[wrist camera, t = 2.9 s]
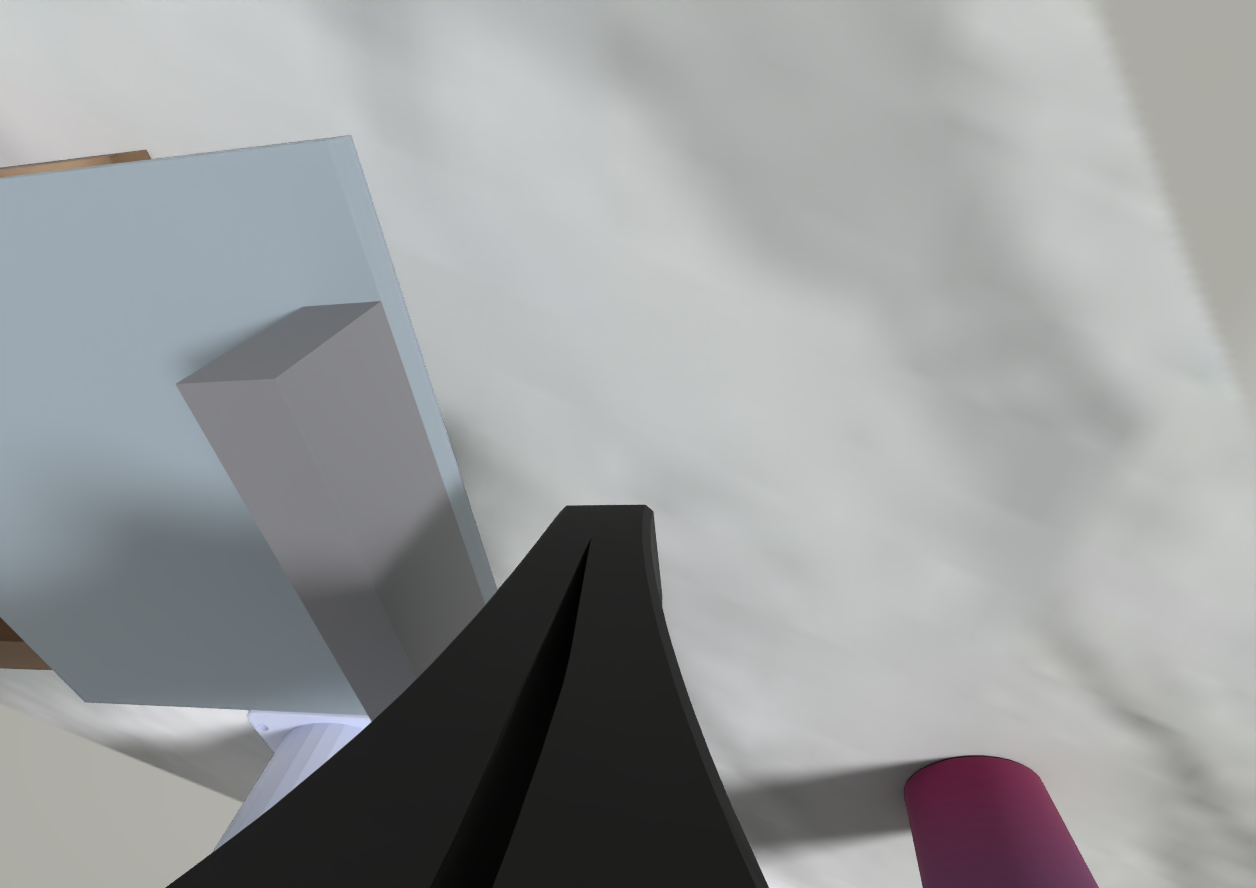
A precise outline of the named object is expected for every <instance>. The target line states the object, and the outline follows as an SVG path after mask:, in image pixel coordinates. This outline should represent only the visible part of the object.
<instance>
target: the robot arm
mask: <svg viewBox="0 0 1256 888" xmlns="http://www.w3.org/2000/svg"><path fill="white" fill-rule="evenodd" d="M247 718H248V720H249V722H250V723H251V724H252V725H253V727H254V728H255V729H256V731H257V732H258V733H259V735H260V736H261V737H262V738H263V740H264V741H265V742H266V744H267V745H268V746H269V747H270V749H271V750H272V751H273V753H274V755H273V757H272V758H271V760H270V761H269V763H268V765H267V766H266V768H265V769H264V771H263V773H262V774H261V776H260V777H259V779H258V781H257V782H256V784H255V785H254V787H253V789H252V790H251V792H250V793H249V795H248V796H247V798H246V800H245V801H244V803H243V804H242V806H241V808H240V809H239V811H238V812H237V814H236V816H235V817H234V819H233V820H232V822H231V824H230V825H229V827H228V829H227V830H226V832H225V833H224V835H223V836H222V838H221V840H220V841H219V843H218V844H217V846H216V848H215V849H214V851H213V852H212V853H211V854H210V855H209V856H207V857H206V858H205V859H204V860H202V861H201V862H199V863H198V864H197V865H196V866H194V867H193V868H192V869H190V870H189V871H187V872H186V873H185V874H183V875H182V876H181V877H179V878H178V879H177V880H175V881H174V882H173V883H171V884H170V885H169V886H167V887H166V888H769V887H768V885H767V882H766V880H765V878H764V876H763V874H762V871H761V869H760V867H759V865H758V863H757V860H756V858H755V856H754V854H753V852H752V849H751V847H750V845H749V843H748V841H747V838H746V836H745V834H744V832H743V830H742V827H741V825H740V823H739V821H738V819H737V817H736V814H735V812H734V810H733V808H732V805H731V803H730V801H729V798H728V796H727V794H726V791H725V789H724V786H723V784H722V781H721V779H720V777H719V774H718V772H717V769H716V767H715V764H714V762H713V759H712V757H711V755H710V752H709V750H708V747H707V744H706V742H705V739H704V736H703V734H702V731H701V729H700V726H699V723H698V721H697V718H696V715H695V713H694V710H693V707H692V704H691V701H690V699H689V696H688V693H687V690H686V687H685V684H684V681H683V678H682V675H681V672H680V669H679V665H678V662H677V659H676V656H675V653H674V649H673V646H672V643H671V639H670V636H669V632H668V629H667V625H666V621H665V617H664V613H663V609H662V589H661V580H660V570H659V561H658V552H657V542H656V533H655V524H654V514H653V511H652V510H651V509H650V508H649V507H647V506H646V505H583V506H566V507H565V508H564V509H563V510H562V511H561V512H560V513H559V514H558V515H557V517H556V518H555V519H554V521H553V522H552V523H551V524H550V526H549V527H548V528H547V530H546V531H545V532H544V533H543V535H542V536H541V537H540V539H539V540H538V541H537V542H536V544H535V545H534V546H533V548H532V549H531V550H530V551H529V553H528V554H527V555H526V556H525V558H524V559H523V560H522V561H521V563H520V564H519V565H518V566H517V568H516V569H515V570H514V571H513V573H512V574H511V575H510V576H509V577H508V578H507V580H506V581H505V582H504V583H503V584H502V586H501V587H500V588H499V589H498V590H497V592H496V593H495V594H494V595H493V596H492V597H491V599H490V600H489V601H488V602H487V603H486V605H485V606H484V607H483V608H482V609H481V610H480V612H479V613H478V614H477V615H476V616H475V617H474V618H473V619H472V621H471V622H470V623H469V624H468V625H467V626H466V627H465V628H464V629H463V630H462V631H461V632H460V633H459V635H458V636H457V637H456V638H455V639H454V640H453V641H452V642H451V643H450V644H449V645H448V646H447V647H446V649H445V650H444V651H443V652H442V653H441V654H440V655H439V656H438V657H437V658H436V659H435V660H434V662H433V663H432V664H431V665H430V666H429V667H428V668H427V669H426V670H425V671H424V672H423V673H422V674H421V675H420V676H419V677H418V678H417V679H416V680H415V681H414V682H413V683H412V684H411V685H410V686H409V687H408V688H407V689H406V690H405V691H404V692H403V693H402V694H400V695H399V696H398V697H397V698H396V699H395V700H394V701H393V702H392V703H391V704H390V705H389V706H388V707H387V708H386V709H385V710H384V711H382V712H381V713H380V714H379V715H378V716H377V717H376V718H375V719H374V720H373V721H372V722H371V720H370V718H369V716H368V715H347V714H325V713H304V712H282V711H261V710H250V711H249V712H248V714H247Z"/></svg>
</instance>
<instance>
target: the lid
mask: <svg viewBox="0 0 1256 888" xmlns="http://www.w3.org/2000/svg"><path fill="white" fill-rule="evenodd" d="M496 592H497V587H496V584H495V581H494V578H493V575H492V572H491V569H490V566H489V562H488V559H487V556H486V553H485V550H484V547H483V544H482V541H481V538H480V534H479V531H478V528H477V525H476V522H475V519H474V516H473V513H472V509H471V506H470V503H469V500H468V497H467V494H466V491H465V488H464V485H463V481H462V478H461V475H460V472H459V469H458V466H457V463H456V460H455V457H454V453H453V450H452V447H451V444H450V441H449V438H448V435H447V432H446V428H445V425H444V422H443V419H442V416H441V413H440V410H439V407H438V404H437V400H436V397H435V394H434V391H433V388H432V385H431V382H430V379H429V376H428V372H427V369H426V366H425V363H424V360H423V357H422V354H421V351H420V347H419V344H418V341H417V338H416V335H415V332H414V329H413V326H412V323H411V319H410V316H409V313H408V310H407V307H406V304H405V301H404V298H403V295H402V291H401V288H400V285H399V282H398V279H397V276H396V273H395V270H394V266H393V263H392V260H391V257H390V254H389V251H388V248H387V245H386V242H385V238H384V235H383V232H382V229H381V226H380V223H379V220H378V217H377V214H376V210H375V207H374V204H373V201H372V198H371V195H370V192H369V189H368V185H367V182H366V179H365V176H364V173H363V170H362V167H361V164H360V161H359V157H358V154H357V151H356V148H355V145H354V142H353V139H352V136H351V135H348V136H340V137H332V138H323V139H315V140H307V141H298V142H290V143H282V144H274V145H265V146H257V147H249V148H241V149H232V150H224V151H216V152H207V153H199V154H191V155H183V156H174V157H166V158H158V159H149V160H141V161H133V162H125V163H116V164H108V165H100V166H91V167H83V168H75V169H67V170H58V171H50V172H42V173H33V174H25V175H17V176H9V177H0V617H1V618H2V619H3V620H4V621H5V622H6V623H7V624H8V625H9V626H10V627H11V628H12V629H13V630H14V631H15V632H16V633H17V634H18V635H19V636H20V637H21V638H22V639H23V640H24V641H25V642H26V643H27V644H28V645H29V646H30V647H31V648H32V649H33V650H34V651H35V652H36V653H37V654H38V655H39V656H40V657H41V658H42V659H43V660H44V662H45V663H46V664H47V665H48V666H49V667H50V668H51V669H52V670H53V671H54V672H55V673H56V674H57V675H58V676H59V677H60V678H61V679H62V680H63V681H64V682H65V683H66V684H67V685H68V686H69V687H70V688H71V689H72V690H73V691H74V692H75V693H76V694H77V695H78V696H79V697H80V698H81V699H82V700H83V701H84V702H90V703H112V704H133V705H154V706H176V707H197V708H218V709H240V710H261V711H282V712H304V713H325V714H347V715H368V716H369V718H370V720H371V722H372V721H373V720H374V719H375V718H376V717H377V716H378V715H379V714H380V713H381V712H382V711H384V710H385V709H386V708H387V707H388V706H389V705H390V704H391V703H392V702H393V701H394V700H395V699H396V698H397V697H398V696H399V695H400V694H402V693H403V692H404V691H405V690H406V689H407V688H408V687H409V686H410V685H411V684H412V683H413V682H414V681H415V680H416V679H417V678H418V677H419V676H420V675H421V674H422V673H423V672H424V671H425V670H426V669H427V668H428V667H429V666H430V665H431V664H432V663H433V662H434V660H435V659H436V658H437V657H438V656H439V655H440V654H441V653H442V652H443V651H444V650H445V649H446V647H447V646H448V645H449V644H450V643H451V642H452V641H453V640H454V639H455V638H456V637H457V636H458V635H459V633H460V632H461V631H462V630H463V629H464V628H465V627H466V626H467V625H468V624H469V623H470V622H471V621H472V619H473V618H474V617H475V616H476V615H477V614H478V613H479V612H480V610H481V609H482V608H483V607H484V606H485V605H486V603H487V602H488V601H489V600H490V599H491V597H492V596H493V595H494V594H495V593H496Z"/></svg>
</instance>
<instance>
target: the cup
mask: <svg viewBox="0 0 1256 888" xmlns="http://www.w3.org/2000/svg"><path fill="white" fill-rule="evenodd" d="M904 798H905V802H906V807H907V812H908V817H909V822H910V827H911V832H912V837H913V842H914V847H915V851H916V856H917V861H918V866H919V871H920V876H921V881H922V886H923V888H1099V887H1098V885H1097V883H1096V882H1095V880H1094V878H1093V876H1092V874H1091V872H1090V870H1089V868H1088V867H1087V865H1086V863H1085V861H1084V859H1083V857H1082V855H1081V854H1080V852H1079V850H1078V848H1077V846H1076V844H1075V842H1074V840H1073V839H1072V837H1071V835H1070V833H1069V831H1068V829H1067V827H1066V825H1065V824H1064V822H1063V820H1062V818H1061V816H1060V814H1059V812H1058V810H1057V809H1056V807H1055V805H1054V803H1053V801H1052V799H1051V797H1050V795H1049V794H1048V792H1047V790H1046V788H1045V786H1044V784H1043V782H1042V781H1041V779H1040V777H1039V776H1038V775H1037V774H1036V773H1035V772H1034V771H1032V770H1031V769H1029V768H1028V767H1026V766H1024V765H1022V764H1019V763H1016V762H1014V761H1011V760H1006V759H1001V758H994V757H962V758H954V759H949V760H945V761H941V762H938V763H935V764H932V765H930V766H928V767H926V768H924V769H921V770H920V771H919V772H917V773H916V774H914V775H913V776H912V777H911V778H910V780H909V781H908V782H907V784H906V786H905V788H904Z"/></svg>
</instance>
